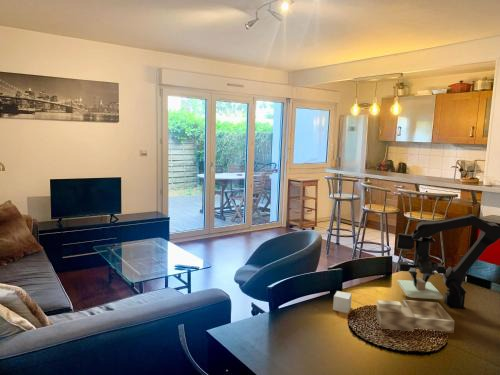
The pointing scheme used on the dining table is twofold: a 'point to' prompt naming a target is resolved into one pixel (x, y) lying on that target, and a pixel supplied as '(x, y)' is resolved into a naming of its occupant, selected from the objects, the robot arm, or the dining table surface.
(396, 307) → the beige rectangular block
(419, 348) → the dining table surface
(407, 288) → the lid
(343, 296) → the white cube block
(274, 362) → the dining table surface
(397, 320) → the beige rectangular tray
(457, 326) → the dining table surface
